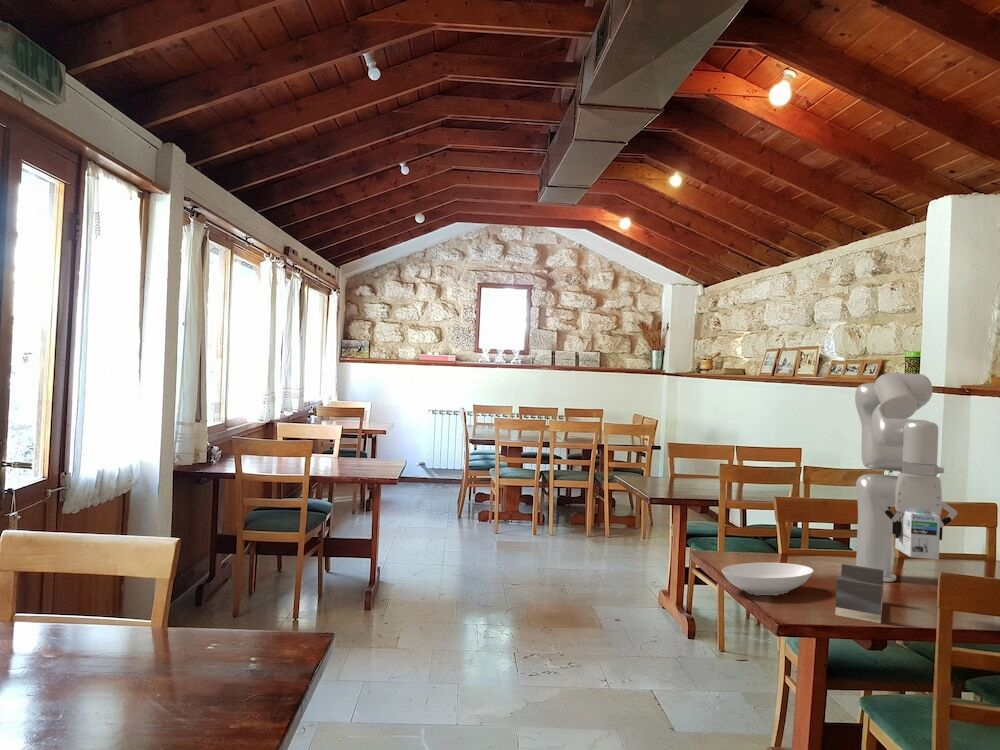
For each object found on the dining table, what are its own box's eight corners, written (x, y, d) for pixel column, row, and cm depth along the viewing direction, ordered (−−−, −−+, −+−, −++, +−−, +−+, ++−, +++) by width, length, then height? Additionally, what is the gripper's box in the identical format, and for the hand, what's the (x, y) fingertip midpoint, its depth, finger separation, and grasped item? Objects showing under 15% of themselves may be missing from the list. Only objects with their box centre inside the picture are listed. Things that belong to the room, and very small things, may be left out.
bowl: (745, 604, 181) (746, 580, 181) (705, 588, 194) (706, 566, 195) (828, 595, 193) (829, 573, 193) (786, 581, 207) (787, 560, 207)
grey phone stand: (840, 596, 193) (842, 563, 193) (882, 603, 188) (883, 569, 188) (835, 615, 175) (836, 579, 175) (880, 623, 170) (882, 586, 170)
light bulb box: (939, 560, 170) (941, 516, 170) (909, 557, 171) (911, 513, 171) (922, 550, 180) (923, 508, 181) (893, 548, 182) (895, 506, 182)
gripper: (959, 472, 175) (956, 542, 175) (880, 465, 184) (877, 532, 183) (962, 475, 169) (959, 548, 168) (879, 468, 177) (877, 537, 177)
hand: (916, 539), depth 176 cm, fingers closed on light bulb box, 8 cm apart
